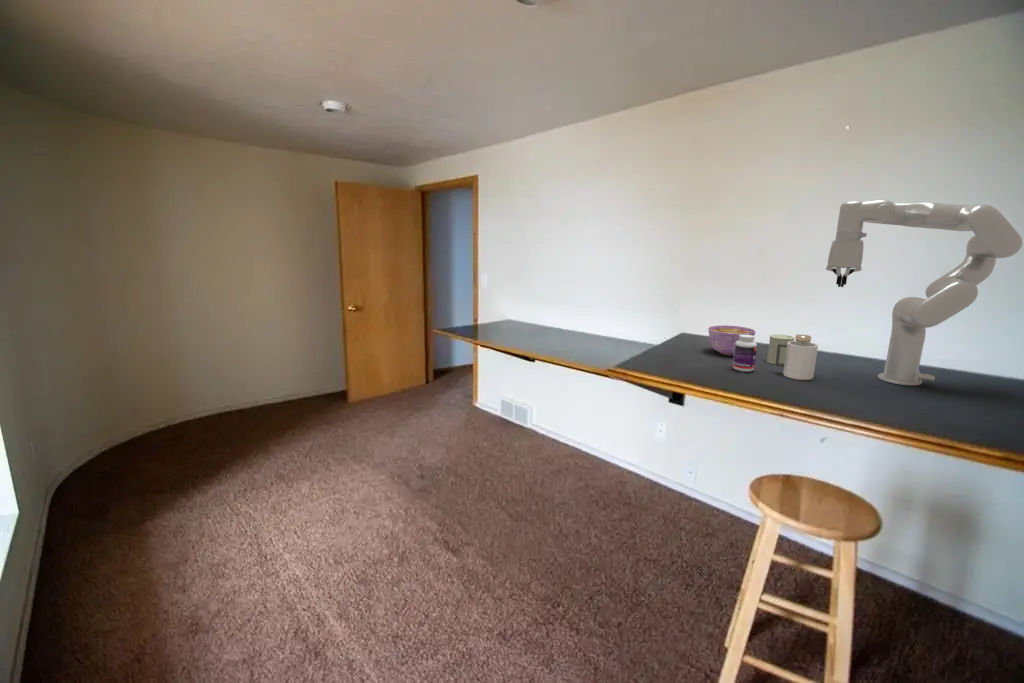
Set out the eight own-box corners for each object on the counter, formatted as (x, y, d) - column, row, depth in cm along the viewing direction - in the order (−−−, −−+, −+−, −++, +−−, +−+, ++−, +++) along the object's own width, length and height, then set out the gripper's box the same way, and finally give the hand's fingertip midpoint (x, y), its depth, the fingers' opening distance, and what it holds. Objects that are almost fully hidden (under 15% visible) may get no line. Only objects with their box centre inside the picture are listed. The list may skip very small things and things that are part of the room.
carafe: (814, 375, 176) (819, 343, 174) (811, 381, 169) (816, 348, 166) (776, 369, 184) (780, 338, 181) (772, 375, 177) (776, 343, 174)
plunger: (810, 369, 176) (815, 335, 173) (808, 373, 170) (813, 338, 167) (789, 366, 180) (793, 333, 177) (786, 370, 174) (791, 336, 171)
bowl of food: (697, 349, 218) (699, 326, 216) (734, 347, 222) (736, 324, 219) (723, 360, 199) (725, 334, 197) (763, 357, 203) (766, 332, 200)
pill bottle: (755, 373, 180) (760, 338, 176) (733, 371, 182) (737, 337, 179) (752, 367, 187) (756, 334, 184) (731, 366, 190) (734, 333, 187)
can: (795, 365, 190) (799, 337, 188) (773, 365, 190) (777, 338, 188) (783, 359, 199) (786, 333, 197) (762, 359, 199) (765, 333, 197)
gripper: (874, 236, 162) (865, 286, 166) (824, 236, 171) (817, 284, 175) (874, 236, 156) (865, 288, 160) (823, 236, 165) (815, 286, 169)
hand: (840, 286), depth 168 cm, fingers closed
